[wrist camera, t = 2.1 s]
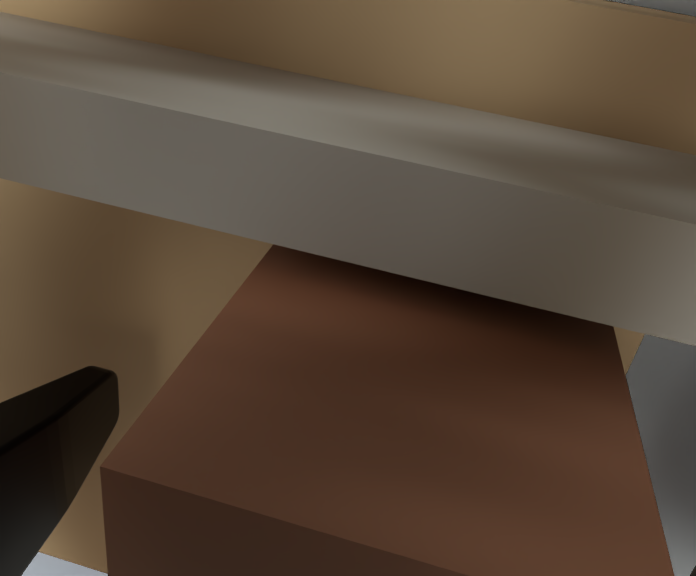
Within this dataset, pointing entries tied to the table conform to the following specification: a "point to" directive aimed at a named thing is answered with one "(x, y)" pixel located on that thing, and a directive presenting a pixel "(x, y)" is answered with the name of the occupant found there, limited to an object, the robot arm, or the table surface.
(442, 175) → the board
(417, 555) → the brown block with peg
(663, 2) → the table surface
